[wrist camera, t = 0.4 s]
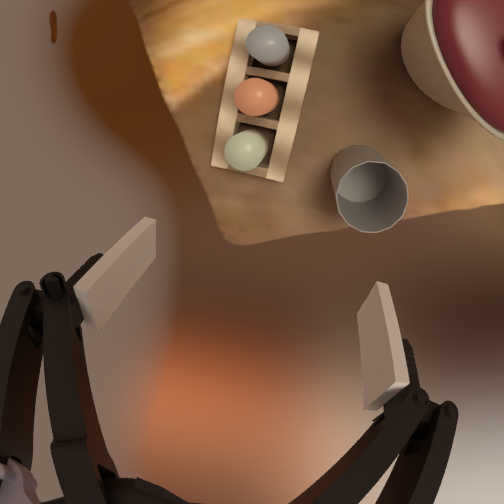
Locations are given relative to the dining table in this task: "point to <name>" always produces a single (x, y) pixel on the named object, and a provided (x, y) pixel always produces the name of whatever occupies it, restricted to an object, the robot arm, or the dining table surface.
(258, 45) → the grey egg
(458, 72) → the canister
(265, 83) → the brown egg
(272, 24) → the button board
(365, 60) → the dining table surface
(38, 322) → the robot arm
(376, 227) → the cup
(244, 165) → the pale green egg
